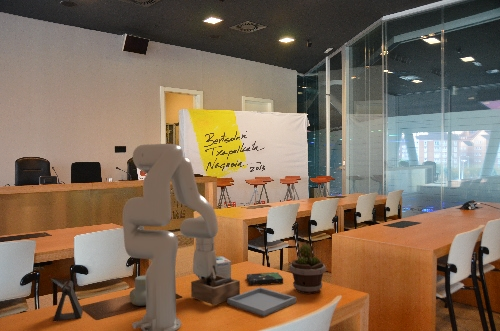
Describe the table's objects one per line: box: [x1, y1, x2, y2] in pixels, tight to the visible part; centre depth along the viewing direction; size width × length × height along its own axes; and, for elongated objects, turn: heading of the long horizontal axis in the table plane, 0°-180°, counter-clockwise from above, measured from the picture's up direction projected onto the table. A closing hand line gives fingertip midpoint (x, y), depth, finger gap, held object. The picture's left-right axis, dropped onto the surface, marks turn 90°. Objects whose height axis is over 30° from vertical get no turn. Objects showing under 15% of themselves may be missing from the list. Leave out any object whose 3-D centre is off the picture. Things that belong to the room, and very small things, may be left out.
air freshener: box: [129, 274, 146, 307], centre depth 155 cm, size 11×8×10 cm
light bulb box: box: [216, 255, 232, 279], centre depth 178 cm, size 11×7×11 cm, turn 25°
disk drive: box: [246, 272, 284, 286], centre depth 181 cm, size 10×3×15 cm
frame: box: [190, 275, 241, 306], centre depth 159 cm, size 13×13×6 cm
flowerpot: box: [289, 240, 327, 295], centre depth 168 cm, size 14×15×20 cm
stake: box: [214, 277, 232, 285], centre depth 156 cm, size 8×2×8 cm, turn 136°
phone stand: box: [52, 280, 84, 322], centre depth 142 cm, size 9×6×12 cm, turn 106°
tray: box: [226, 287, 297, 317], centre depth 153 cm, size 18×18×2 cm
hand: (205, 292), depth 163 cm, fingers closed on frame, 1 cm apart
